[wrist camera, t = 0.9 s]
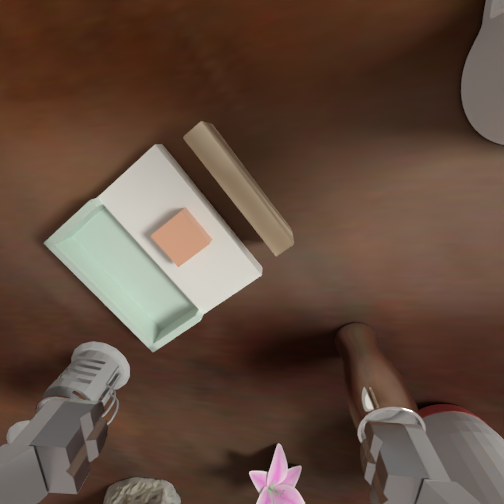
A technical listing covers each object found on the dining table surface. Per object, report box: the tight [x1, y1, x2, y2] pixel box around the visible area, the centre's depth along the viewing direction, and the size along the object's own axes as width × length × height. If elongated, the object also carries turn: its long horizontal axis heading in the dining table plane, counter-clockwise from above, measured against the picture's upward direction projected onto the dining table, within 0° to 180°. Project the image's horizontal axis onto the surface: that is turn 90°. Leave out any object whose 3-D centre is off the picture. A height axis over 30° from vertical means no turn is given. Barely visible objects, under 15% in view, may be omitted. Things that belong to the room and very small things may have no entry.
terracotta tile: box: [151, 208, 212, 267], centre depth 37 cm, size 5×5×2 cm
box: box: [44, 198, 203, 352], centre depth 41 cm, size 9×20×4 cm, turn 38°
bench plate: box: [97, 144, 262, 314], centre depth 40 cm, size 10×20×2 cm, turn 38°
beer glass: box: [334, 323, 426, 443], centre depth 38 cm, size 7×7×15 cm
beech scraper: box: [183, 121, 294, 256], centre depth 36 cm, size 2×16×6 cm, turn 38°
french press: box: [7, 341, 130, 444], centre depth 38 cm, size 10×12×25 cm
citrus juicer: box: [419, 404, 504, 504], centre depth 40 cm, size 16×17×20 cm
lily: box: [249, 443, 305, 504], centre depth 52 cm, size 12×12×10 cm
